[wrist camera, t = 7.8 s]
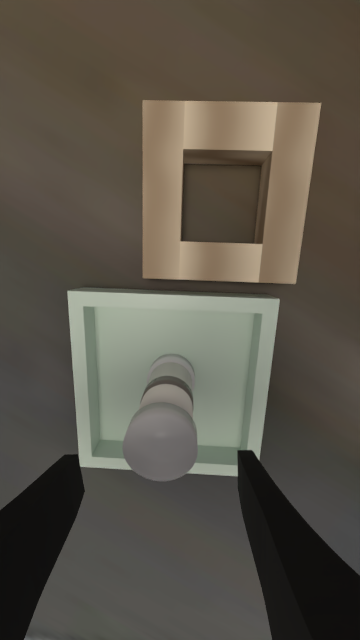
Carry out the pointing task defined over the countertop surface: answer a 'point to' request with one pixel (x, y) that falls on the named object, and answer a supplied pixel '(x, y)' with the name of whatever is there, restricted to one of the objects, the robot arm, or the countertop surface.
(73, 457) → the robot arm
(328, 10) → the countertop surface
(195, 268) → the wooden square frame
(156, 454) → the cylinder
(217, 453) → the parts tray
